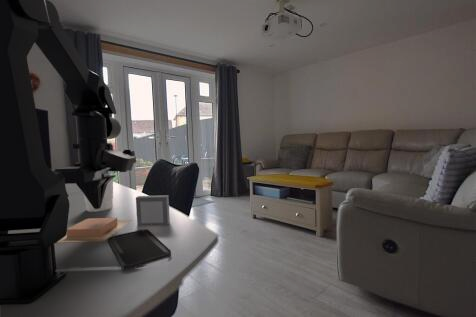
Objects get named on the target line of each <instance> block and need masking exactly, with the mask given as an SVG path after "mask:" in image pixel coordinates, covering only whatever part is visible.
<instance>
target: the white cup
mask: <svg viewBox="0 0 476 317" xmlns="http://www.w3.org/2000/svg"><path fill="white" fill-rule="evenodd" d="M110 175H113V174H111V173H110ZM83 199H84V203H85V210H86V211H87V212H89V213H92V212H93V213H95V212H103V211H108V210H110V209H112V208H113V205H114V204H113V199H114V178H113V179H112V180H111V181H110V182H108V184H107V187H106V190H105V193H104V197H103V201H102V205H101V208H99V209H94V208H93V206H92V205H91V203H90V202H89V200H88V199H87V197H86V196H85V195H84V194H83Z"/></svg>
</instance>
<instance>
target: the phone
mask: <svg viewBox="0 0 476 317" xmlns="http://www.w3.org/2000/svg"><path fill="white" fill-rule="evenodd" d="M107 242H108V244H109V246H110V248H111V250H112V252H113V254H114V255H115V257H116V259H117V261H118V262H119V264H120V269H121V270H122V271H124V272H130V271H133V270H137V269H139V268H144V267H146V266H148V265H146V264H147V263H149V262H150V263H151V262H154V261H157V260H161V259H164V258H168V257H170V256H171V257H172V251H171V249H169V247H167V246H166V245H165V244H164V242H162V241H161V240H160V239H158V237H156V235H154V234H153V233H152V232H151V231H150V230H149V229H145V228H144V229H139V230H135V231H129V232H125V233H120V234H115V235H112V236H111V237H109V238H108V239H107ZM171 257H170V258H171ZM144 264H145V265H144Z"/></svg>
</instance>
